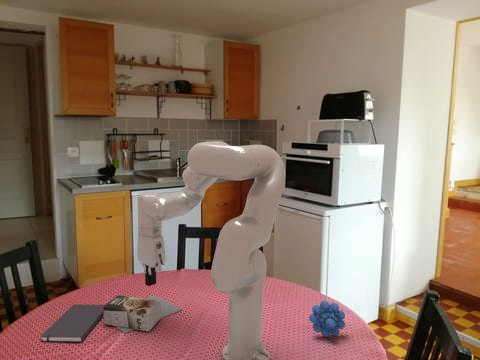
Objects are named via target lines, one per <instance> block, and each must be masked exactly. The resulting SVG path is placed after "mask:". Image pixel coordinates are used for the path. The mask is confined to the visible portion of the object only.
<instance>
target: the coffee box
mask: <svg viewBox="0 0 480 360" xmlns="http://www.w3.org/2000/svg"><path fill="white" fill-rule="evenodd" d="M103 305H104V306H103V315H104V318H103V324H104V325H107V326H114V327H115V326H119V327H125V328H131V329H136V330H139V331H144V332H145V331H146V332H150V331H151V330H152V329H153V328H154V327H155V326H156V324H157V323H158V322H159V321H160V320H162V319H161V301H157V300H150V299H146V298H141V297H135V296H134V297H133V296H127V295H126V296H125V295H119V294H118V295H116V296H115V297H114V298H112V299H111V300H109V302H107V303H105V304H103Z"/></svg>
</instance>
